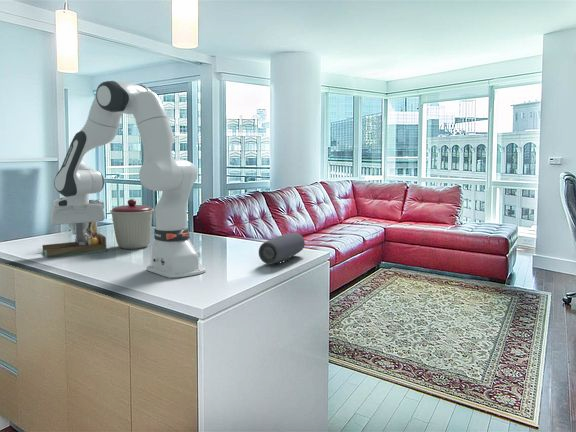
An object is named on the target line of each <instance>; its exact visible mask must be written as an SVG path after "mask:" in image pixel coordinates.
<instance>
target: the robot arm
mask: <svg viewBox="0 0 576 432" xmlns="http://www.w3.org/2000/svg"><path fill="white" fill-rule="evenodd" d="M123 114H126V115H133V117H134V120H135V123H136V127H137V130H138V133H139V137H140V139H141V142H142V143H141V144H142V147H143V163H142V165H141V167H140V169H139V172H138V175H139V176H138V177H139V181H140V184H141V185H142V186H143V187H144V188H145V189H147V190H150V191H155V192H161V197H160V199H159V201H158V202H157V203H156V205H155V206H154V207H155V208H154V222H155V223H154V224H155V225H154V226H155V228H154V230H153V231H154V232H153V235H154V241H153V244H152V245H151V246H150V265H148V266H146V271H148V272H152V273H154V274H157V275H160V276H163V277H166V278H173V279H174V278H183V277H184V278H185V277H191V276H195V275H200V274H203V273H205V272H206V271H207V270H206V268H205V267H204V266H203V265H202V264H201V263H200V262H199V258H200V257H201V252H200V251H199V250H196V247H195V246H194V245H193V244H192V242H191V240H190V238H191V237H190V231H189V227H188V204H189V203H188V202H189V198H190V194H191V190H192V187H193V186H194V184H195V182H196V181H197V179H198V170H197V168H196V167H197V166H195V164H194V163H192V162H191V161H189V160H186V159H182V158H173V153H172V151H173V150H172V147H173V144H174V143H175V136H174V135H175V134H174V133H173V129H172V126H171V124H170V120H169V117H168V114H167V111H166V109H165V106H164V105H163V103H162V100H161V99H160V97H159V95H157V93H156V92H154V91H153V90H151V88H149V87H148V86H145V85H143V84H135V83H131V82H129V81H115V80H106V81H103V82H101V83H99V85H98V86H97V88H96V92H95V97H94V98H93V100H92V103H91V106H90V109H89V112H88V116H87V119H86V122H85V123H84V125H83V127H82V128H81V129H80V131H78V132H76V133H75V134H74V136H73V138H72V139H71V141H70V142H71V143H70V145H69V147H68V149H67V151H66V154H65V157H64V160H63V162H62V164H61V167H60V169H59V170H58V172H57V173H56V175H55V177H54V181H53V182H54V183H53V186H54V188H55V190H56V191H57V192H58V193H59V194H60V195H61V196H63V197H60V198H57V199H54V200H53V201H52V205H53V207H52V208H51V210H50V224H52V225H53V226H61V225H68V227H69V229H70V230H71V234H72V235H76V234H77V233H76V229H75V228H74V227H73V226H74V225H75V223H84V224H85V227H84V229H83V233H87V232H86V229H87V228H88V226H89V222H97V223H98V222H103V221H104V220H105V217H106V216H105V211H104V209H105V203H104V201H103V200H101V199H89V195H90V194H96V193H97V194H98V193H100V192H101V191H102V190H103V189H104V186H105V178H104V175H103V174H102V172H101V171H100V170H98V169H94V168H92V167H90V166H88V165H87V164H86V162H85V161H82V160H83V159H84V156H85V155H86V154H87V153H88V152H89V151H91V150H93V149H95V148H98V147H101V146H104V145H107V144H109V143H111V142H112V141H113V140H114V139H115V137H116V136H117V134H118V130H119V126H120V121H121V118H122V115H123Z"/></svg>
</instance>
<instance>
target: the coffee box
mask: <svg viewBox="0 0 576 432" xmlns="http://www.w3.org/2000/svg"><path fill="white" fill-rule="evenodd" d="M82 226H83V229H84V227H85V224H84V223H82ZM86 232H87V234H88V235H90V236H91V239H92V238H96V233H99V232H98V222H89V226H88V228H87V229H86ZM83 235H84V234H83ZM83 241H84V238H83ZM87 241H88V237H87Z"/></svg>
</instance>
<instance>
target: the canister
mask: <svg viewBox="0 0 576 432" xmlns="http://www.w3.org/2000/svg"><path fill="white" fill-rule="evenodd" d="M109 212H110V213H111V219H112V223H113V230H114V231H113V232H114V235H115V240H116V241H115V242H116V244H117V246H118V247H119V248H121V249H125V250H136V249H137V250H138V249H143V248H145V247H147V246H149V244H150V242H151V235H152V233H151V232H152V224H153V223H152V221H153V212H155V208H152V207H151V206H148V205H145V204H144V205H143V204H137V200H136V199H134V198H130V199H128V200H127V204H126V205H118V206H115V207H113V208H112V209H110V210H109Z"/></svg>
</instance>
